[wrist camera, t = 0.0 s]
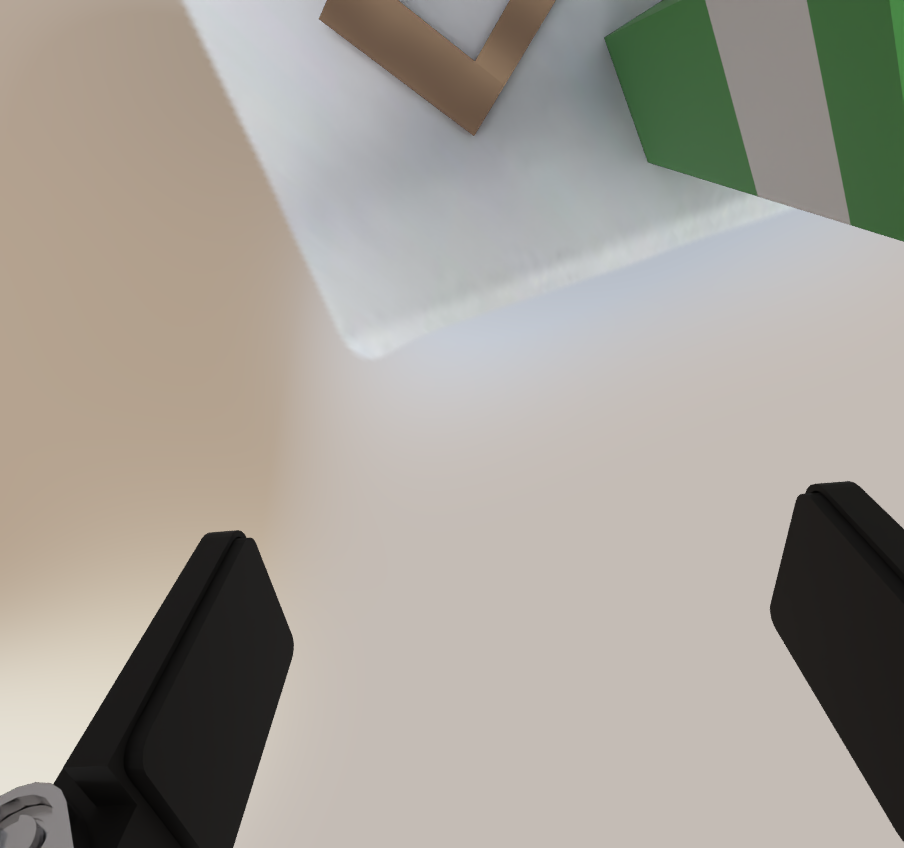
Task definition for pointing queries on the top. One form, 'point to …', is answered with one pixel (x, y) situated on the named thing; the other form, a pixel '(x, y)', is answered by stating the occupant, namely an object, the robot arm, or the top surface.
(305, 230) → the top surface
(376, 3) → the socket board
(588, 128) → the top surface
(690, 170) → the hardback book
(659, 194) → the top surface
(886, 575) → the robot arm
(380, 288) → the top surface
